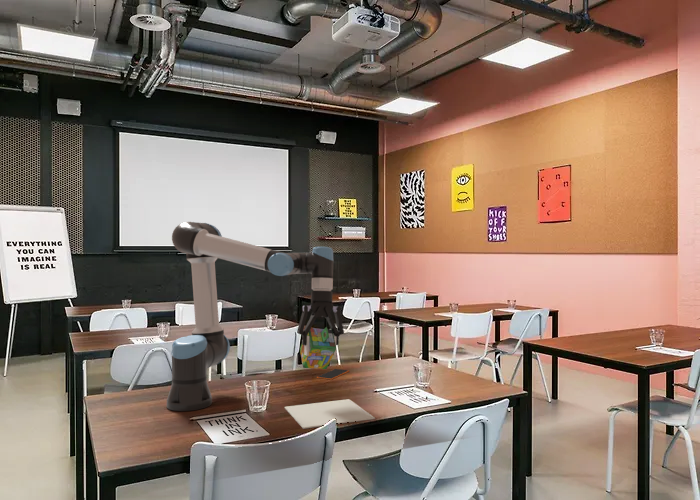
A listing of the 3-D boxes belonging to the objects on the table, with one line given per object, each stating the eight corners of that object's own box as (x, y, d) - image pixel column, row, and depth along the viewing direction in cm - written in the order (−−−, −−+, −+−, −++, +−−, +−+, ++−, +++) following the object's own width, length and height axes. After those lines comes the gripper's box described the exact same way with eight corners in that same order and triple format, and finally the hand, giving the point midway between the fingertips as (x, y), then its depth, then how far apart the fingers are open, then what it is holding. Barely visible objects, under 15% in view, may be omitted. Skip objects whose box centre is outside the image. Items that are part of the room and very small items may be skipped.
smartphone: (316, 378, 215) (316, 376, 215) (335, 370, 230) (335, 368, 230) (331, 380, 212) (331, 378, 212) (349, 372, 227) (349, 370, 227)
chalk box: (299, 348, 184) (310, 320, 175) (323, 350, 187) (334, 322, 179) (302, 369, 177) (314, 340, 168) (327, 370, 180) (339, 342, 172)
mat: (303, 428, 154) (303, 427, 154) (284, 407, 174) (284, 406, 174) (374, 418, 163) (374, 417, 163) (349, 400, 183) (349, 399, 183)
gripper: (346, 291, 187) (344, 353, 184) (288, 289, 178) (286, 354, 175) (354, 291, 180) (353, 355, 177) (295, 288, 171) (293, 356, 168)
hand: (320, 354), depth 176 cm, fingers closed on chalk box, 9 cm apart
